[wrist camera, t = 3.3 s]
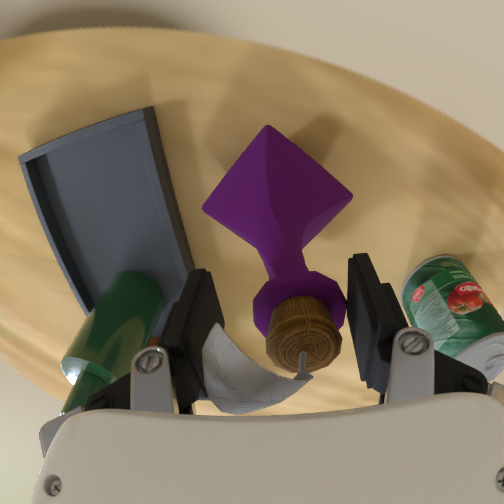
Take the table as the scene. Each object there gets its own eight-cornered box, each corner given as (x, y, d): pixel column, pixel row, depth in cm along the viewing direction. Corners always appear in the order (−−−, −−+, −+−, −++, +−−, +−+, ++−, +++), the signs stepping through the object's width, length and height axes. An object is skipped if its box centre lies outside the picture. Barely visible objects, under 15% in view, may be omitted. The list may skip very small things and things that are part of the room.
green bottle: (101, 272, 28) (25, 392, 15) (153, 268, 27) (84, 407, 15) (123, 317, 31) (69, 434, 18) (172, 316, 30) (127, 449, 18)
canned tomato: (395, 320, 30) (424, 406, 20) (406, 258, 26) (453, 347, 16) (456, 310, 29) (494, 385, 19) (472, 250, 25) (530, 325, 15)
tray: (31, 150, 22) (17, 156, 20) (153, 105, 20) (142, 108, 19) (142, 384, 39) (138, 396, 37) (235, 387, 37) (233, 400, 36)
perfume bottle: (345, 180, 22) (439, 388, 7) (283, 244, 26) (277, 463, 11) (268, 116, 20) (230, 249, 5) (209, 191, 24) (107, 394, 9)
